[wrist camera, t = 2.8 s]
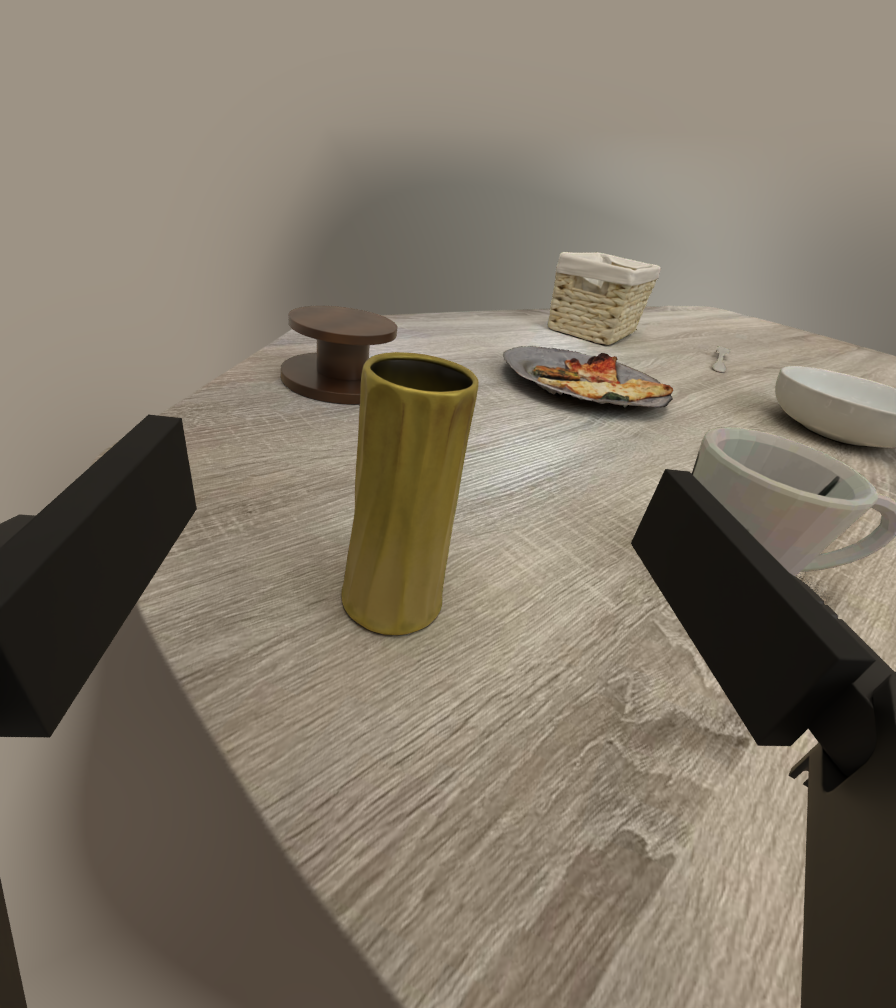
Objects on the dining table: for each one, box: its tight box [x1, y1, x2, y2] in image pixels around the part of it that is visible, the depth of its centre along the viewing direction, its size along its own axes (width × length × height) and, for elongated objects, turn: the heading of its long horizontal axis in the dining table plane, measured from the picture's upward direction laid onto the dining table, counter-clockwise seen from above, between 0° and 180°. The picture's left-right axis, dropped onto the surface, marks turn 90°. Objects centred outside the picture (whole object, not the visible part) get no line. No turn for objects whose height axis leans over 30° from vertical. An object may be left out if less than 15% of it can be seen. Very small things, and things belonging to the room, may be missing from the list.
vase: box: [341, 352, 478, 635], centre depth 25 cm, size 6×6×14 cm
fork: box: [713, 346, 730, 372], centre depth 101 cm, size 3×21×3 cm, turn 152°
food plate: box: [503, 346, 673, 407], centre depth 70 cm, size 25×23×4 cm
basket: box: [548, 252, 661, 345], centre depth 102 cm, size 24×16×15 cm
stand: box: [281, 306, 397, 404], centre depth 55 cm, size 14×14×7 cm
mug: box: [692, 427, 896, 576], centre depth 34 cm, size 10×15×10 cm
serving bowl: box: [775, 366, 896, 448], centre depth 70 cm, size 21×21×7 cm
